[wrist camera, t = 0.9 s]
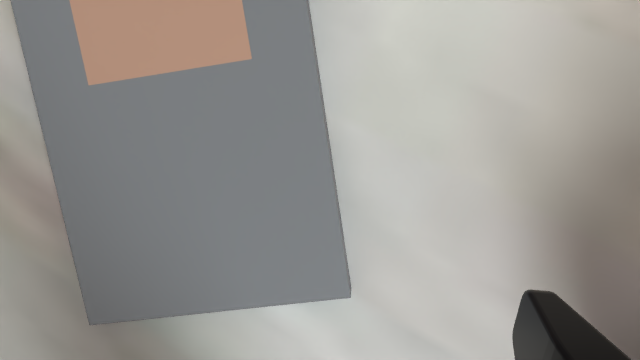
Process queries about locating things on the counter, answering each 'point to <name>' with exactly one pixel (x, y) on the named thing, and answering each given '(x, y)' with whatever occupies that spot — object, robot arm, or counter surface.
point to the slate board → (187, 153)
